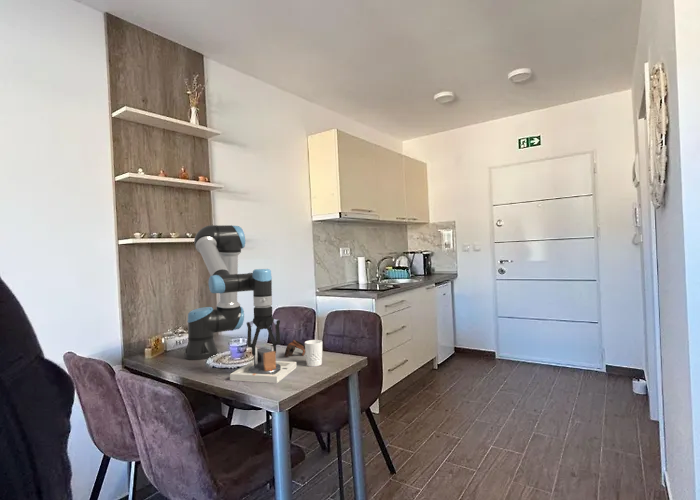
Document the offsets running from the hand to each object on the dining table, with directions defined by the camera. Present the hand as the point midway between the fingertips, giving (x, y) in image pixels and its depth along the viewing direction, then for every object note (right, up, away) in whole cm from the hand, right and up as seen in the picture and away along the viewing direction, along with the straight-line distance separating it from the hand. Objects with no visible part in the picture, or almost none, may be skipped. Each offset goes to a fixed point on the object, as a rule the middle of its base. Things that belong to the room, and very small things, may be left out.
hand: (264, 362), depth 162 cm
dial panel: (0, -5, 0) cm, 5 cm away
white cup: (+20, -4, +12) cm, 23 cm away
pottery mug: (+8, -5, +28) cm, 29 cm away
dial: (0, -4, 0) cm, 4 cm away
